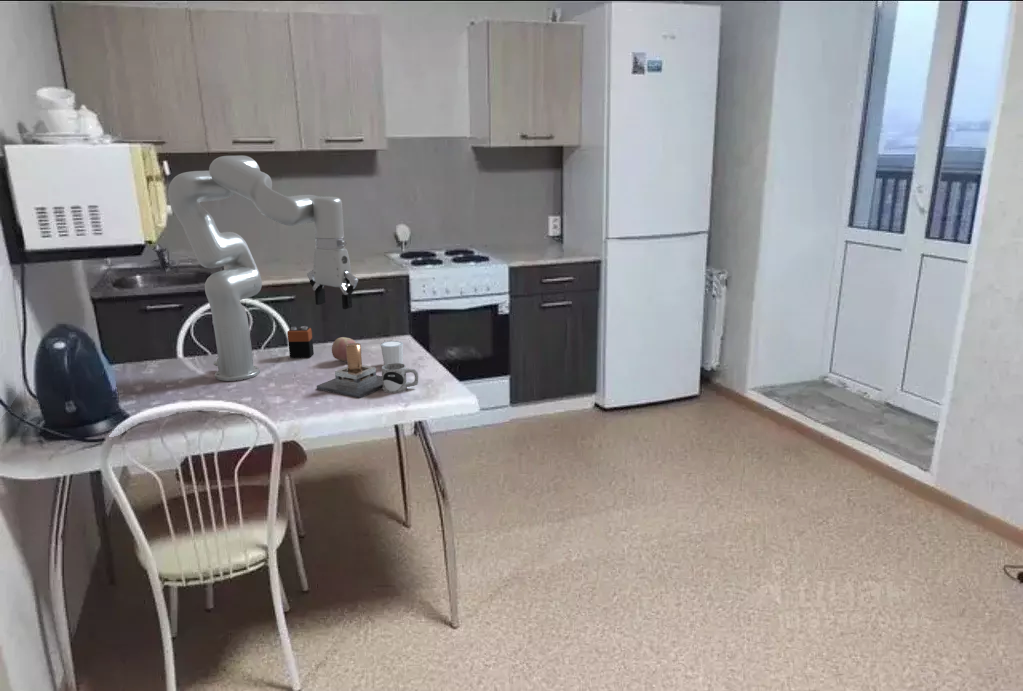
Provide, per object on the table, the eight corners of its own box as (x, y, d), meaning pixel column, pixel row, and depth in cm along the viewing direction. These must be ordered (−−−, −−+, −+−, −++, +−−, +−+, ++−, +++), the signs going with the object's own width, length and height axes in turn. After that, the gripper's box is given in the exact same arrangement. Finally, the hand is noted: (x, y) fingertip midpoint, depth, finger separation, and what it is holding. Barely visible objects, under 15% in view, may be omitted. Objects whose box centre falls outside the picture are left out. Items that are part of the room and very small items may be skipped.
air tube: (356, 378, 204) (353, 342, 201) (367, 380, 202) (364, 343, 199) (345, 383, 200) (342, 345, 197) (356, 385, 198) (353, 347, 196)
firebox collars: (316, 389, 199) (315, 372, 198) (353, 374, 212) (352, 358, 210) (360, 398, 191) (358, 381, 190) (395, 382, 204) (394, 366, 202)
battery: (310, 358, 228) (307, 328, 226) (289, 358, 228) (286, 328, 226) (314, 354, 233) (311, 325, 230) (293, 354, 233) (290, 325, 230)
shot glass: (405, 361, 223) (404, 340, 221) (403, 368, 216) (401, 346, 214) (383, 362, 223) (382, 340, 221) (380, 369, 216) (379, 347, 214)
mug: (381, 393, 195) (379, 370, 193) (384, 385, 201) (383, 363, 199) (417, 392, 195) (416, 369, 193) (420, 384, 201) (418, 362, 200)
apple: (354, 365, 220) (352, 340, 218) (330, 365, 220) (328, 341, 218) (360, 358, 228) (358, 334, 226) (336, 358, 228) (334, 334, 226)
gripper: (364, 244, 189) (367, 307, 194) (316, 239, 197) (320, 299, 202) (345, 248, 183) (348, 312, 187) (296, 243, 191) (300, 304, 196)
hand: (333, 306), depth 195 cm, fingers open, 9 cm apart
